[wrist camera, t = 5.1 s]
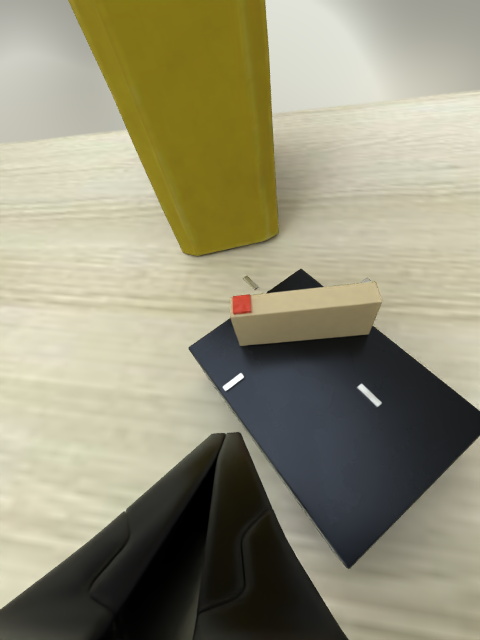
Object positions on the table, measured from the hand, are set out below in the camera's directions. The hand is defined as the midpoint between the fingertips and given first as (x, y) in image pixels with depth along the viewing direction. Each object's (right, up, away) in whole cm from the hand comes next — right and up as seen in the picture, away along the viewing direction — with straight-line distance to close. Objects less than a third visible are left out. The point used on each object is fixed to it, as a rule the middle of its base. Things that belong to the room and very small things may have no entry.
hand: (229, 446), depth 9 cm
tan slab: (+4, +3, +10) cm, 12 cm away
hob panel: (+6, -1, +13) cm, 15 cm away
